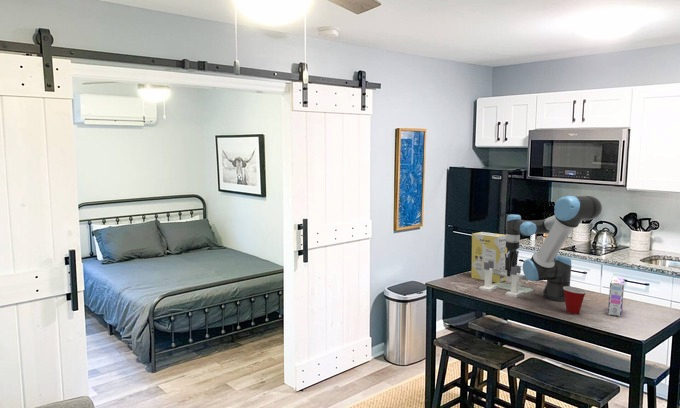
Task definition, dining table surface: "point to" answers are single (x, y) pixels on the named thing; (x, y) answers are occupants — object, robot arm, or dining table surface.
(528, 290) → the mat
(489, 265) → the rack
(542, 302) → the dining table surface
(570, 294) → the plastic cup
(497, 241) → the pasta box
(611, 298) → the candy box
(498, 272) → the rail
